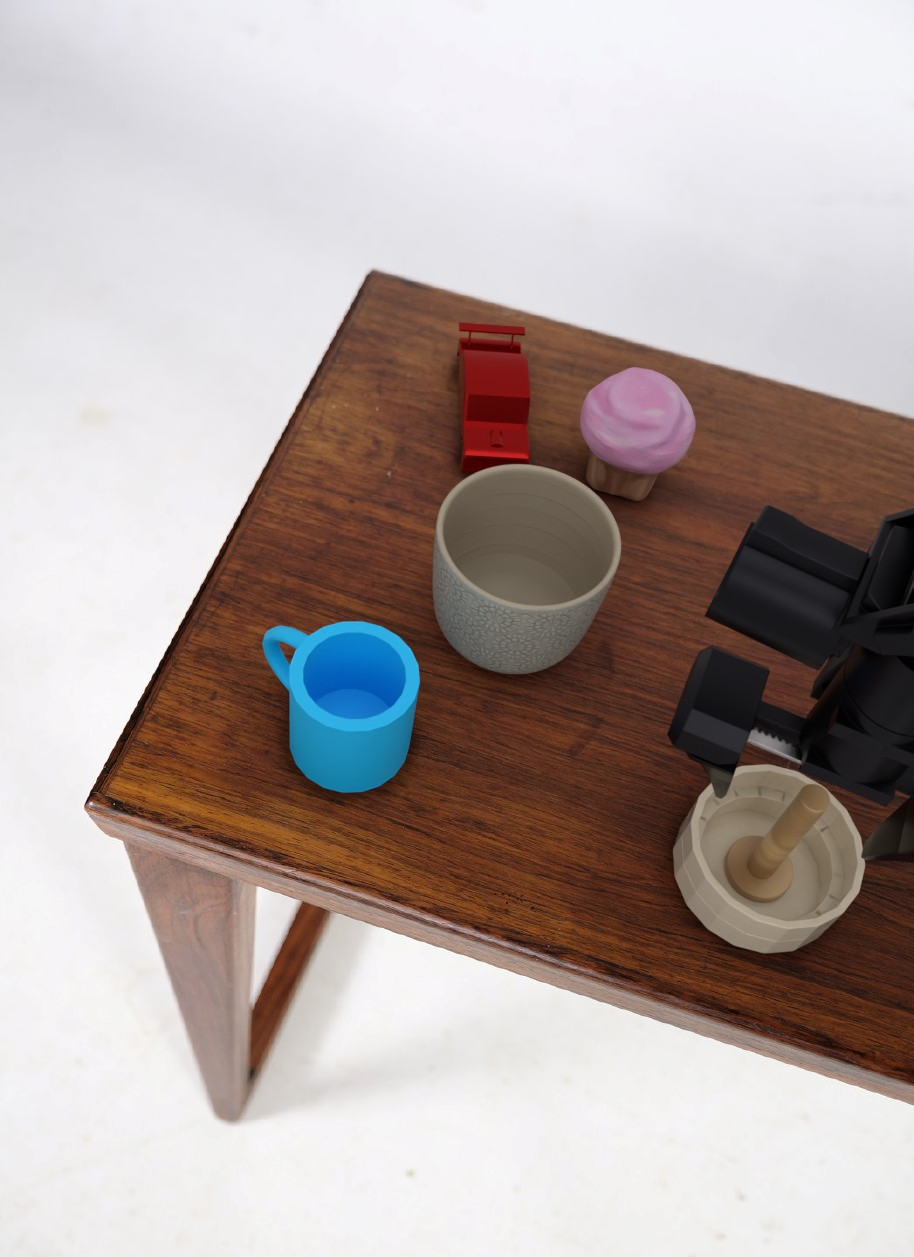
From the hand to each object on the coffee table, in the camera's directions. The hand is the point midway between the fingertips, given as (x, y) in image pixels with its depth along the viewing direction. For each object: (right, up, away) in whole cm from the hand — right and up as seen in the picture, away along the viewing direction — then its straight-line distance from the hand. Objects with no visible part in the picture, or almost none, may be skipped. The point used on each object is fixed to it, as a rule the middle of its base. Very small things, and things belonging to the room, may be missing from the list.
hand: (792, 821), depth 72 cm
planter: (-17, +12, +16) cm, 26 cm away
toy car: (-18, +29, +28) cm, 44 cm away
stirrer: (-1, -4, +6) cm, 7 cm away
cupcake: (-7, +24, +25) cm, 36 cm away
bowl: (-1, -5, +6) cm, 8 cm away
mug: (-29, +5, +10) cm, 31 cm away
